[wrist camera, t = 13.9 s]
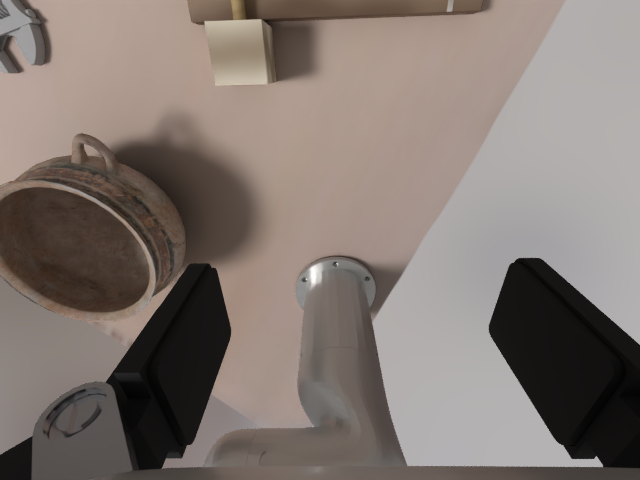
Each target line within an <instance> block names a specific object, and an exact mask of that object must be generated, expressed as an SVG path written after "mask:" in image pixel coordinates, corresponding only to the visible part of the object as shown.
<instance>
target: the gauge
mask: <svg viewBox="0 0 640 480" xmlns="http://www.w3.org/2000/svg"><path fill="white" fill-rule="evenodd" d="M231 5H232V13H233V20H226V21H204V22H205V28H206V34H207V39H208V45H209V51H210V56H211V62H212V68H213V73H214V79H215V85H216V86H219V85H252V84H270V83H274V82H277V81H276V70H275V58H274V47H273V35H272V27H270V26H269V25H268V24H267V23H265V22H264V21H263V20H262V19H254V20H246V12H245V4H244V0H231Z"/></svg>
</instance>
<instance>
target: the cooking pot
mask: <svg viewBox="0 0 640 480" xmlns="http://www.w3.org/2000/svg"><path fill="white" fill-rule="evenodd" d="M84 144H87V145H90V146H92V147H93V148H95V149H96V150H97V151H98V152H99V153H100V154H101V155H102V156H103V157H104V158H99V157H95V156H87V154H86V152H85V150H84ZM185 252H186V235H185V230H184V225H183V222H182V220H181V217H180V215H179V212H178V211H177V209H176V207H175V205H174V204H173V202H172V201H171V200H170V198H169V197H168V196H167V195H166V193H165V192H164V191H163V190H162V189H161V188H160V187H159V186H158V185H156V184H155V183H154V182H153V181H152V180H150V179H149V178H148V177H146V176H145V175H143V174H142V173H140V172H138V171H136V170H134V169H133V168H131V167H129V166H126V165H124V164H121V163H118V161H117V159H116V157H115V156H114V154H113V153H112V152H111V150H110V149H109V148H108V147H107V146H106V145H104V144H103V143H102V142H101V141H99V140H98V139H96V138H95V137H92V136H90V135H87V134H77V135H76V136H75V137H74V138H73V142H72V155H70V156H63V157H56V158H52V159H50V160H47V161H44V162H42V163H39V164H36V165H35V166H33V167H31V168H30V169H29V170H27V171H26V172H24V173H23V174H22V175H20V176H19V177H18V178H17V179H16V180H15V181H11V182H8V183H5V184H2V185H0V276H1V277H2V278H3V279H4V280H5V281H6V282H7V283H8V284H9V285H10V286H11V287H13V288H14V289H15V290H16V291H18V292H19V293H20V294H22V295H23V296H25V297H26V298H28V299H29V300H31V301H32V302H34V303H36V304H38V305H40V306H42V307H44V308H46V309H48V310H50V311H52V312H55V313H58V314H60V315H63V316H67V317H70V318H74V319H78V320H84V321H90V322H110V321H117V320H121V319H125V318H128V317H130V316H132V315H135V314H136V313H138V312H139V311H140V310H142V309H143V308H144V307H145V306H146V305H147V304H148V302H149V301H150V300H151V297H153V296H154V295H156V294H157V293H159V292H160V291H161V290H163V289H164V288H165V287H167V286H168V285H169V284H170V283H171V281H172V280H173V279H174V278H175V277H176V275H177V274H178V272H179V270H180V268H181V266H182V264H183V261H184V256H185Z"/></svg>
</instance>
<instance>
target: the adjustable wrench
mask: <svg viewBox="0 0 640 480" xmlns="http://www.w3.org/2000/svg"><path fill="white" fill-rule="evenodd" d="M40 24H42V23H41V22H40V20H39V19H37V18H36V15H35V13H34V12H33V11H32V10H31V9H27V10H26V8H25V7H24V6H23V5H22V3H21V2H20V1H19V0H0V71H2V72H3V73H19V72H18V71H17V69H16V68H15V66H14V65H13V63H12V62H11V60H10V59H9V58H8V56H7V55H6V53H5V52H4V50H3V48H4V46H5V43H6V40H7V37H10V36H14V37H16V39H15V42H16V44H17V45H18V47H19V49H20V50H21V52H22V53H23V55H24V56H25V58H26V59H27V61H28V63H29V64H30V65H42V64H43V63H44V60H45V44H44V40H43V36H42V33H41V30H40V27H39V25H40Z"/></svg>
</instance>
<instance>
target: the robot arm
mask: <svg viewBox="0 0 640 480" xmlns="http://www.w3.org/2000/svg"><path fill="white" fill-rule="evenodd" d="M375 295H376V286H375V281H374V279H373V276H372V274H371V273H370V271H369V270H368V269H367V268H366V267H365V266H364V265H362V264H361V263H359V262H357V261H355V260H353V259H350V258H345V257H327V258H323V259H320V260H317V261H315V262H313V263H311V264H310V265H308V266H307V267H306V268H305V269H304V270H303V271H302V272H301V274H300V276H299V277H298V280H297V284H296V298H297V301H298V303H299V305H300V306H301V308H302V309H303V310H304V314H303V326H302V337H301V348H300V360H299V371H298V381H297V387H298V395H299V399H300V402H301V405H302V407H303V409H304V411H305V413H306V415H307V416H308V418H309V420H310V421H311V423H312V424H313V426H314V427H308V428H260V429H241V430H235V431H232V432H229V433H227V434H225V435H224V436H222V437H221V438H219V439H218V440H217V441H216V443H215V444H214V445H213V446H212V448H211V450H210V451H209V453H208V455H207V457H206V459H205V462H204V464H203V467H197V468H196V467H194V468H165V469H161V468H162V466H163V464H164V461H165V459H166V458H182V457H183V454H184V452H185V449H186V446H187V445H191V444H192V443H193V441H194V439H195V437H196V434H197V431H198V428H199V425H200V423H201V420H202V417H203V414H204V411H205V409H206V406H207V403H208V400H209V397H210V394H211V392H212V389H213V386H214V383H215V380H216V377H217V375H218V372H219V369H220V366H221V363H222V360H223V358H224V355H225V352H226V349H227V346H228V343H229V341H230V337H231V327H230V322H229V318H228V314H227V310H226V306H225V302H224V298H223V294H222V290H221V285H220V281H219V277H218V273H217V270H216V268H211V266H210V264H208V263H205V264H190V265H189V266H188V267H187V268H186V270H185V271H184V273H183V274H182V275H181V277H180V278H179V280H178V281H177V283H176V284H175V285H174V287H173V288H172V290H171V291H170V293H169V294H168V295H167V297H166V298H165V300H164V301H163V303H162V304H161V305H160V307H159V308H158V309H157V310H156V311H155V313H154V314H153V316H152V317H151V319H150V320H149V321H148V323H147V324H146V326H145V327H144V329H143V330H142V331H141V333H140V334H139V336H138V337H137V338H136V340H135V341H134V343H133V344H132V346H131V347H130V348H129V350H128V351H127V353H126V354H125V356H124V357H123V358H122V360H121V361H120V363H119V364H118V366H117V367H116V368H115V370H114V371H113V373H112V374H111V376H110V377H109V378H108V380H107V381H106V383H105V382H90V383H85V384H83V385H80V386H78V387H75V388H73V389H71V390H70V391H68V392H66V393H64V394H63V395H61V396H60V397H59V398H57V399H56V400H55V401H54V402H53V403H51V404H50V405H49V406H48V408H47V409H46V410H45V411H44V412H43V413H42V414H41V416H40V417H39V419H38V421H37V422H36V424H35V427H34V431H33V436H32V437H30V438H28V439H27V440H25V441H23V442H21V443H20V444H18V445H16V446H15V447H13V448H11V449H9V450H8V451H6V452H4V453H3V454H1V455H0V480H640V345H639V344H638V343H637V342H636V341H635V340H634V339H632V338H631V337H630V336H629V335H628V334H627V333H626V332H624V331H623V330H622V329H621V328H620V327H619V326H618V325H616V324H615V323H614V322H613V321H611V319H610V318H608V317H607V316H606V315H605V314H604V313H603V312H601V311H600V310H599V309H598V308H597V307H596V306H595V305H594V304H592V303H591V302H590V301H589V300H588V299H587V298H586V297H584V296H583V295H582V294H581V293H580V292H579V291H578V290H576V289H575V288H574V287H573V286H572V285H571V284H570V283H568V282H567V281H566V280H565V279H564V278H563V277H562V276H560V275H559V274H558V273H557V272H556V271H555V270H554V269H552V268H551V267H550V266H549V265H548V264H547V263H545V262H544V261H543V260H542V259H540V258H519V259H517V260H516V261H515V262H514V263H511V264H510V266H509V268H508V271H507V274H506V277H505V280H504V283H503V286H502V288H501V291H500V294H499V297H498V300H497V303H496V306H495V309H494V312H493V315H492V318H491V321H490V324H489V333H490V335H491V337H492V339H493V341H494V342H495V344H496V345H497V347H498V349H499V350H500V352H501V353H502V355H503V357H504V358H505V360H506V362H507V363H508V365H509V366H510V368H511V370H512V371H513V373H514V374H515V376H516V378H517V379H518V381H519V382H520V384H521V385H522V387H523V389H524V390H525V392H526V394H527V395H528V397H529V399H530V400H531V402H532V403H533V405H534V406H535V408H536V410H537V411H538V413H539V414H540V416H541V418H542V419H543V421H544V423H545V424H546V426H547V428H548V429H549V431H550V432H551V434H552V435H553V437H554V438H555V440H556V441H557V442H558V443H559V444H561V445H564V447H565V449H566V450H567V452H568V453H569V455H570V457H571V458H572V459H594V458H595V457H596V456H597V457H598V458H599V460H600V461H601V463H602V464H603V467H494V466H489V467H488V466H484V467H483V466H479V467H478V466H470V467H469V466H407V464H406V461H405V458H404V455H403V452H402V450H401V447H400V444H399V441H398V438H397V435H396V432H395V429H394V425H393V422H392V419H391V415H390V411H389V407H388V403H387V399H386V394H385V389H384V384H383V379H382V373H381V368H380V362H379V357H378V352H377V346H376V341H375V336H374V330H373V325H372V319H371V314H370V309H369V308H370V306H371V305H372V304H373V301H374V299H375Z"/></svg>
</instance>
